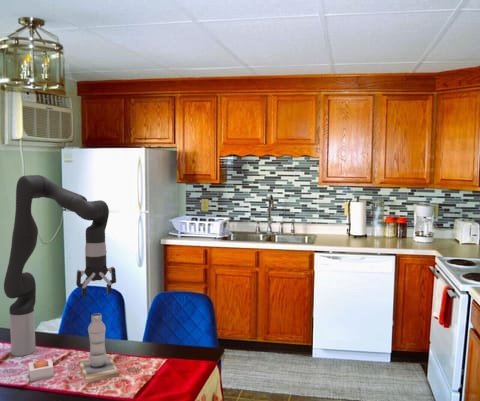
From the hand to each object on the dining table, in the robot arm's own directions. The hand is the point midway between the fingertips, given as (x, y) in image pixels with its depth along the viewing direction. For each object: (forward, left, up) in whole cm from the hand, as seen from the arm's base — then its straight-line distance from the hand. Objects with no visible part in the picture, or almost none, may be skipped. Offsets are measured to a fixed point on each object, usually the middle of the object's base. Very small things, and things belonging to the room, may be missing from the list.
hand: (96, 295), depth 179 cm
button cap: (-5, -20, -28) cm, 35 cm away
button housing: (-5, -20, -29) cm, 36 cm away
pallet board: (0, 0, -29) cm, 29 cm away
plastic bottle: (0, 0, -28) cm, 28 cm away
